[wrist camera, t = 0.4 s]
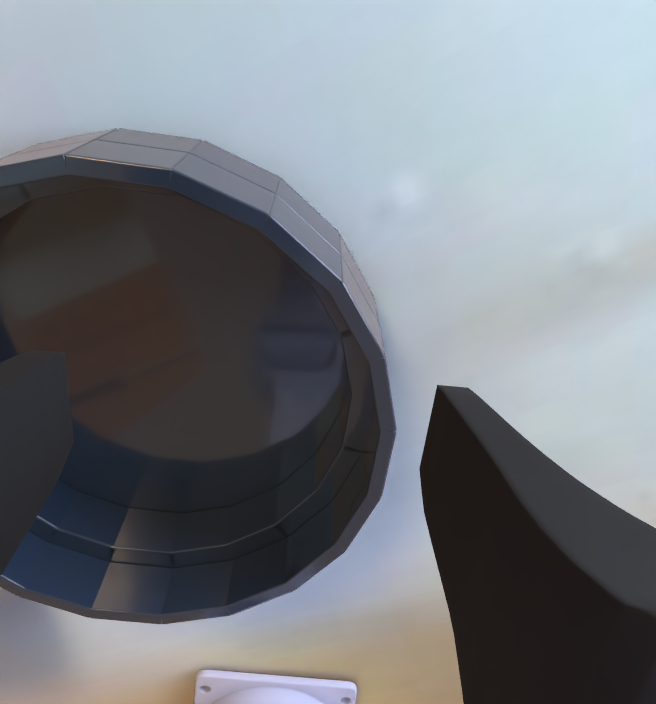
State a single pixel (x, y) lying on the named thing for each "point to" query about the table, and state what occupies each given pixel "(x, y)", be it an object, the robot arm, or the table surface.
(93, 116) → the table surface
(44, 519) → the dark round bowl
